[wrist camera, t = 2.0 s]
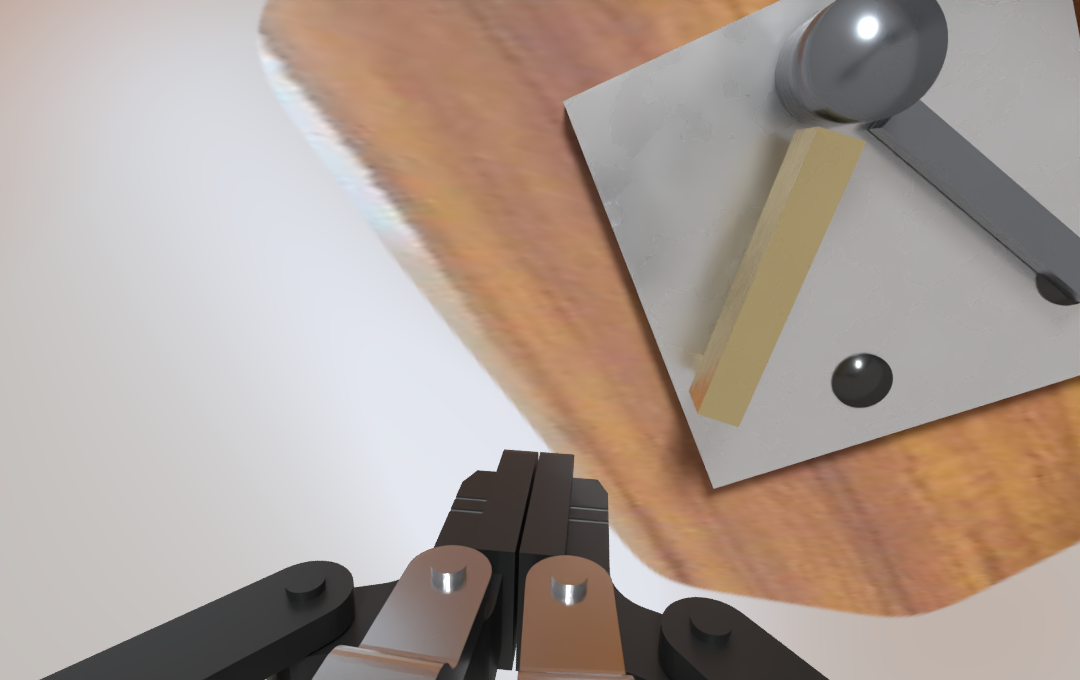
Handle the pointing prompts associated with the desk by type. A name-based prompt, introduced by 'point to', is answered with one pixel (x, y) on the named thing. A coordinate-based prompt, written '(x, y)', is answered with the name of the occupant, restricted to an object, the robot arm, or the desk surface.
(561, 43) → the desk surface
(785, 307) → the leg
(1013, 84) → the mounting plate
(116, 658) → the robot arm
